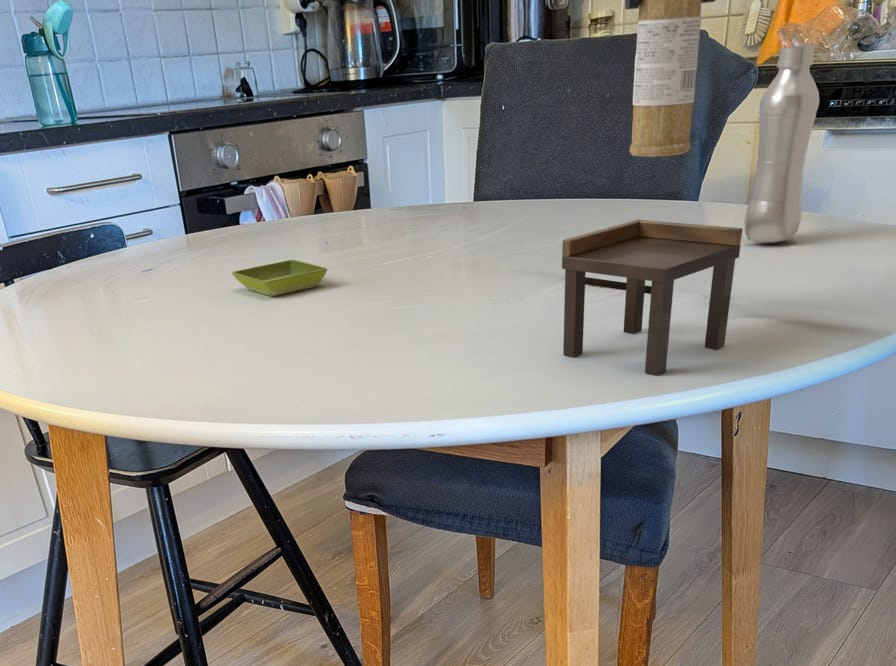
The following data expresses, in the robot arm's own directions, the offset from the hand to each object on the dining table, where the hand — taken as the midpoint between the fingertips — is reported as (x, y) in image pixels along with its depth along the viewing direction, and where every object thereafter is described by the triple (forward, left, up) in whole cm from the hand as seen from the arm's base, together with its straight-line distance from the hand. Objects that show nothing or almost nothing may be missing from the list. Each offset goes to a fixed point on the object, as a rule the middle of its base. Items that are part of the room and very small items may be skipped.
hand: (670, 4), depth 61 cm
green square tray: (+50, +3, -24) cm, 56 cm away
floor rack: (+16, -22, -24) cm, 36 cm away
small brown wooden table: (0, 0, -24) cm, 24 cm away
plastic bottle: (+14, -45, -24) cm, 53 cm away
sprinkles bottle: (0, 0, -10) cm, 10 cm away
